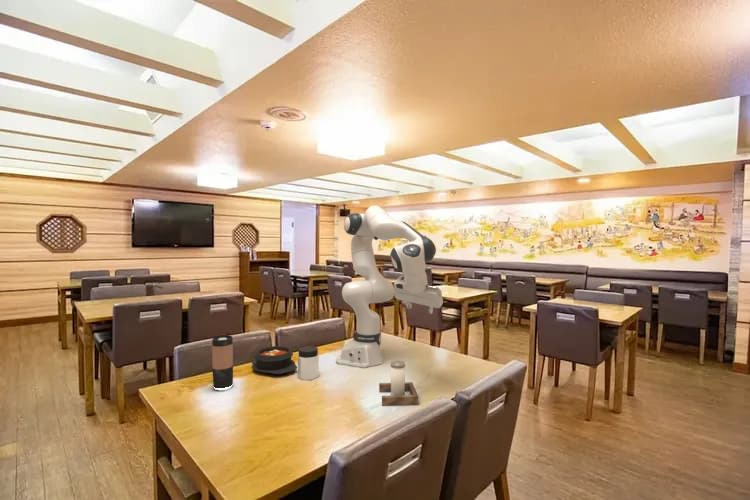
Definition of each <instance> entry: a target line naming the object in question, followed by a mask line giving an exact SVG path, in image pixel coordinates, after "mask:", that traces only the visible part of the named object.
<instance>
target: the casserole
mask: <svg viewBox="0 0 750 500" xmlns="http://www.w3.org/2000/svg"><path fill="white" fill-rule="evenodd" d="M293 356H294V353H293V351H292V349H291V348H290V347H288V346H283V345H282V346H281V345H280V346H279V345H278V346H276V345H275V346H274V345H273V346H267V347H262V348H260V349H258V350H257V351H256V354H255V355H254V360H252V361H251V364H252V369H253V370H254V371H256V372H260V373H266V374H272V375H281V374H286V373H290V372H293V371H295V370H296V369H297V370H298V365H296V362H295V360H293V359H292V357H293Z"/></svg>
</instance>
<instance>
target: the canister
mask: <svg viewBox="0 0 750 500" xmlns="http://www.w3.org/2000/svg"><path fill="white" fill-rule="evenodd" d="M405 382H406V361H403V360H392V361H391V362H390V383H391V392H390V395H406V392H405Z"/></svg>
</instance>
